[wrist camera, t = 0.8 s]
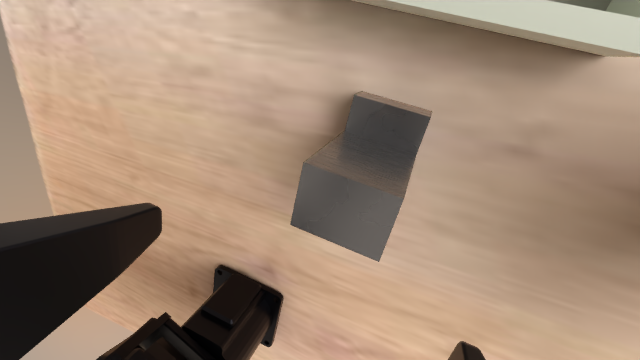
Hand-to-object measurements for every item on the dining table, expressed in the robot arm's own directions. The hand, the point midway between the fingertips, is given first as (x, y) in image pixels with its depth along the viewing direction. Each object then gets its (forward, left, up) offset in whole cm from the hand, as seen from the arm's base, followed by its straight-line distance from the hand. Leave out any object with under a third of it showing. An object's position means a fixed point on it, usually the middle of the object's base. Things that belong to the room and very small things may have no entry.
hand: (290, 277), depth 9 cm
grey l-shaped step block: (+1, 0, -12) cm, 12 cm away
